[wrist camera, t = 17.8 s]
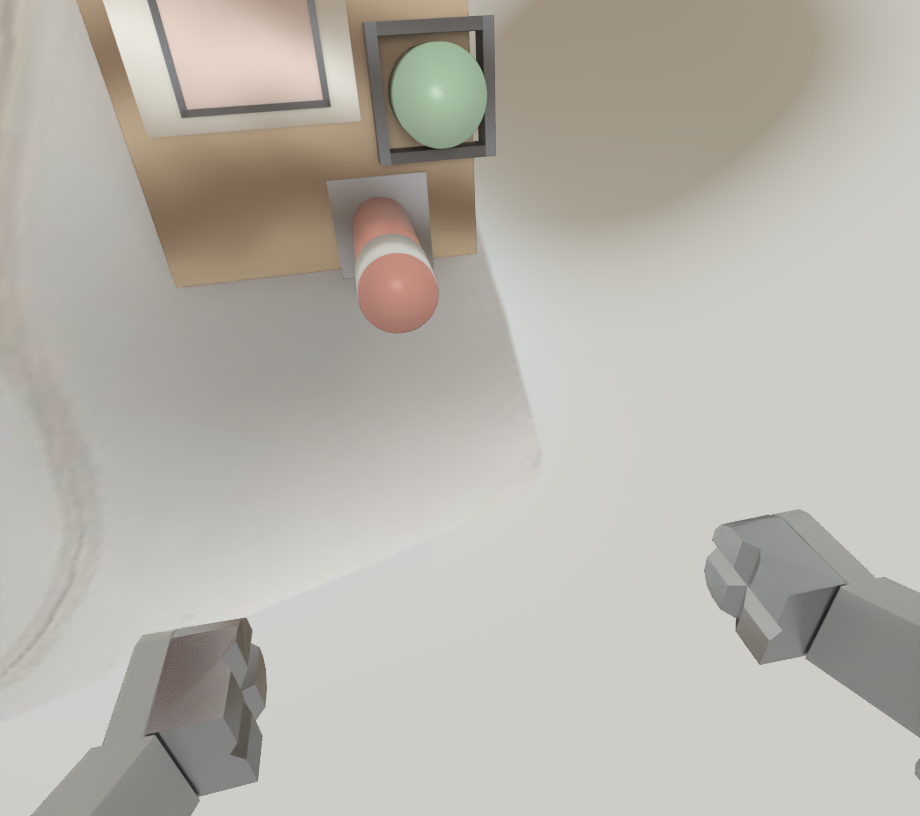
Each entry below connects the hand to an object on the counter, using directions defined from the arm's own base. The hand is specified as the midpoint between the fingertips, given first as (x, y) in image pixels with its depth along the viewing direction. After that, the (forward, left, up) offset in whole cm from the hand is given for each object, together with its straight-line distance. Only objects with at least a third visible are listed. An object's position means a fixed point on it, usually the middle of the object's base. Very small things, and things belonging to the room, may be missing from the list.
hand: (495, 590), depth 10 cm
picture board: (+4, +7, -25) cm, 27 cm away
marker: (0, 0, -24) cm, 24 cm away
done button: (+6, +2, -24) cm, 25 cm away
